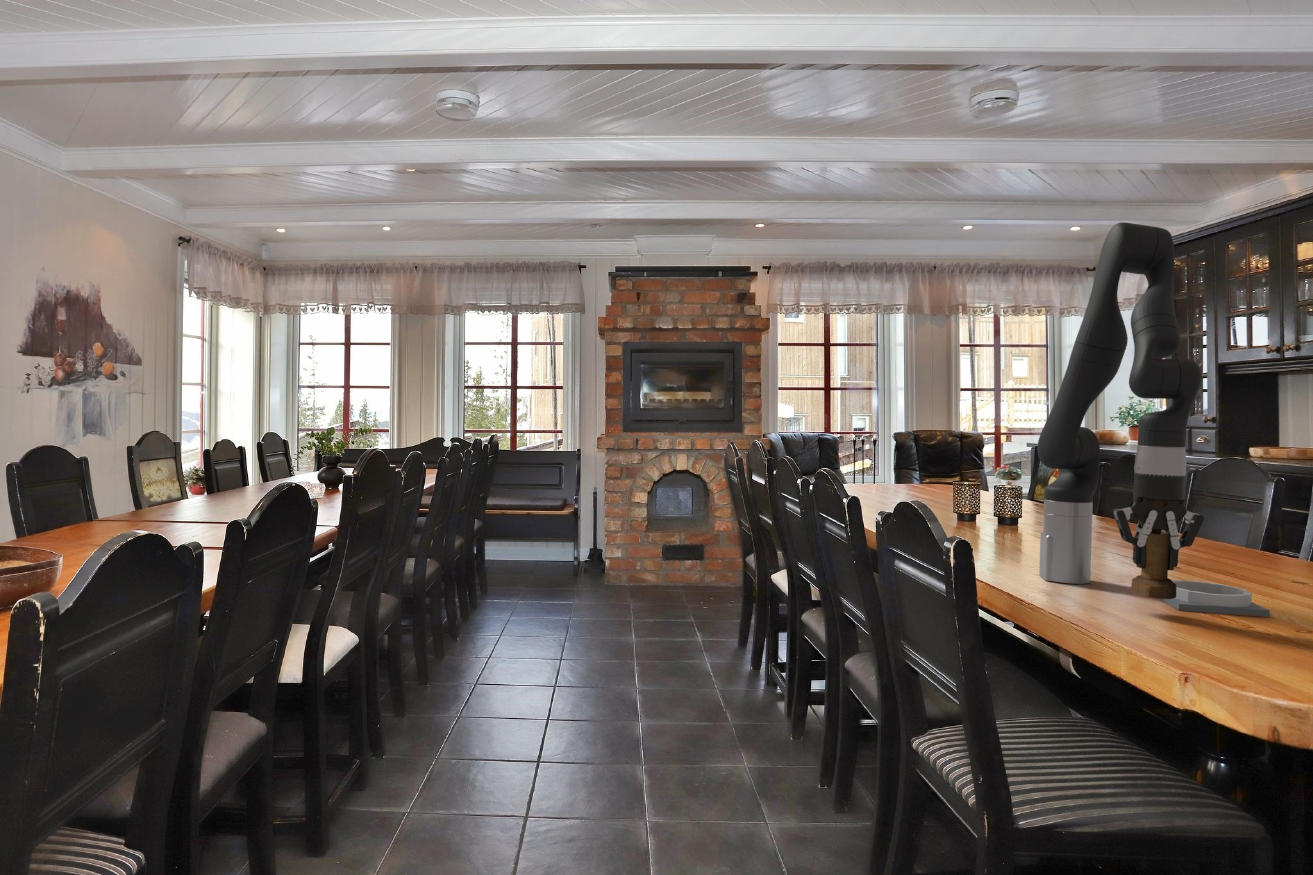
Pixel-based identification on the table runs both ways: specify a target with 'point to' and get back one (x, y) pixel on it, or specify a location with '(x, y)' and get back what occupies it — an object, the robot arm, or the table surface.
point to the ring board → (1214, 599)
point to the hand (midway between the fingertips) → (1154, 567)
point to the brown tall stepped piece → (1155, 565)
